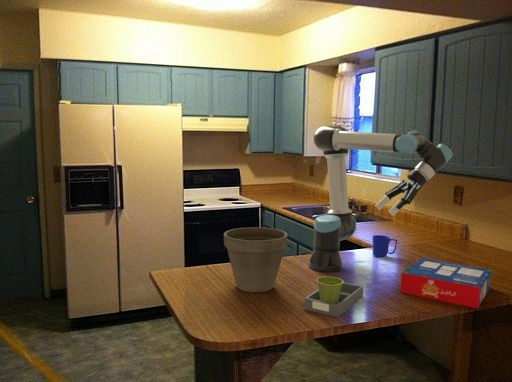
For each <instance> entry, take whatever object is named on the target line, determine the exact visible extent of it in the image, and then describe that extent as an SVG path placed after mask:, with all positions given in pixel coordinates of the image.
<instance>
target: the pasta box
mask: <svg viewBox="0 0 512 382" xmlns="http://www.w3.org/2000/svg"><path fill="white" fill-rule="evenodd" d="M491 277H492V269H490V268H484V267H479V266H471V265H466V264H462V263H461V264H459V263H454V262H450V261H442V260H436V259H431V258H425V257H420V258H419V259H417V260H416V261H415V262H414V263H412V264H411V265H409V266H408V267H407V268H405V269H404V270H403V271H401V274H400V288H399V290H400V293H403V294H407V295H408V294H409V295H414V296H418V297H422V298H427V299H432V300H437V301H440V300H441V301H440V302H445V301H446V302H445V303H449V304H456V305H458V306H459V305H460V306H465V307H469V308H474V309H479V308H480V306H481V304H482V303H483V301H484V299H485V297H486V295H487V294H488V292H489V291H490V289H491V282H492V281H491Z"/></svg>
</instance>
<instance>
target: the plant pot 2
mask: <svg viewBox="0 0 512 382" xmlns="http://www.w3.org/2000/svg"><path fill="white" fill-rule="evenodd" d="M315 282H316V283H317V287H318V289H319V296H320V301H323V302H328V303H332V304H336V305H338V300H339V295H340V289H341V287H342V284H343V282H344V283H345V281H344V279H342V278H339V277H336V276H319V277H317V278H316V280H315Z"/></svg>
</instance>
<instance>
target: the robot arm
mask: <svg viewBox="0 0 512 382" xmlns="http://www.w3.org/2000/svg"><path fill="white" fill-rule="evenodd" d="M313 143H314V145H315V146H316V148H317V149H318V150H320V151H322V152H323V157H325V158H326V161H327V162H326V163H327V177H328V179H327V180H328V194H329V195H328V196H329V210H328V211H327V213H326V214H325V215H319V216H317V217H316V218H315V220H314V223H313V228H314V229H313V251H312V253H311V256H310V259H309V261H308V267H309V268H310V269H312V270H313V271H317V272H323V273H324V272H326V273H333V272H340V271H341V270H342V269H343V261H342V257H341V253H340V244H341V243H340V242H341V241H344V240H348V239H350V238H351V237H352V236H353V235H354V234H355V233H356V231H357V221H356V219H355V218H354V217H353V211H352V209H351V208H349V197H348V196H349V195H348V194H349V193H348V180H347V178H348V177H347V164H346V163H347V160H346V158H347V156H348V155H349V150H358V151H359V150H361V151H373V152H383V153H396V154H403V155H410V154H416V155H417V156H418V157H419V158H421V161H420V162H419V163H418V164H417V165H416V166H415V167H414V169H412V170H411V171H410V172H409V173H408V174H407V178H408V179H407V180H405V179H402V180H401V181H400V182H399V183H397V184H396V185H394V186H392V187H391V188H389V189H388V190H387V191H385V192H384V194H385V196H383V197H382V198H381V200H379V201H377V203H376V204H375V208H376V209H377V210H379V211H381V210H382V209H383V208H384V207H385V206H386V205H387V204H388V203H389V202H390V201H392V199H393V198H395V197H397V196H398V195H400V194H403V196H402V197H400V199H399V200H398V201H397V202H396V203H395V204H394V205H393V206H392V207H391V208H390V209H389V210H388V213H389V214H390V215H391V216H392V217H394V216H395V215H397V213H398V212H399V211H400V210H401V209H402V208H403V207H404V206H405V205H411V203H412V202H413V200H414V199H415V197H416V195H417V194H418V192H419V191H420V190H421V188H422V187H423V186H424V185H425V184H426V183H427V182H428V181H430V179H432V178H433V176H435V174H437V172H439V171H440V170H441V169H442V168H443V167H444V166H445V165H447V163H448V162H449V161H450V160H451V159H452V157H453V152H452V150H451V148H449V146H447V145H445V144H444V143H439V144H437V145H435V144H434V143H432V142H431V141H430V140H428V138H426V137H425V136H424V135H422V133H420V132H419V131H417V130H415V129H413V130H411V131H409V132H408V133H407V134H401V133H398V134H397V133H386V132H385V133H381V132H366V131H363V132H362V131H349V130H348V129H347V128H346V127H342V126H340V125H323V126H320V127H319V128H317V129H316V130H315V132H314V135H313Z"/></svg>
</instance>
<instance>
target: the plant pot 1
mask: <svg viewBox="0 0 512 382" xmlns="http://www.w3.org/2000/svg"><path fill="white" fill-rule="evenodd" d="M223 244H224V247H225V248H226V249H227V254H228V258H229V262H230V266H231V270H232V274H233V278H234V282H235V284H236V287H237V289H239V290H241V291H243V292H246V293H265V292H269V291H271V290H272V289H273V288H274V286H275V284H276V280H277V277H278V274H279V270H280V266H281V262H282V258H283V255H284V251H285V249H286V248H287V246H288V233H287V232H286V231H284V230H282V229H276V228H272V227H271V228H270V227H269V228H268V227H240V228H232V229H229V230H226V231H225V232H224V233H223Z"/></svg>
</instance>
